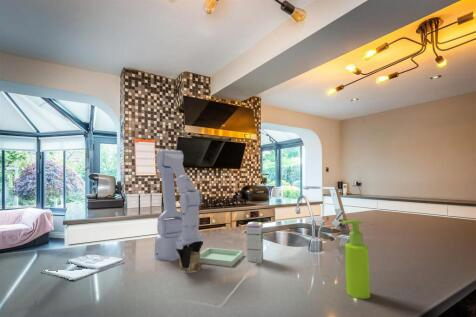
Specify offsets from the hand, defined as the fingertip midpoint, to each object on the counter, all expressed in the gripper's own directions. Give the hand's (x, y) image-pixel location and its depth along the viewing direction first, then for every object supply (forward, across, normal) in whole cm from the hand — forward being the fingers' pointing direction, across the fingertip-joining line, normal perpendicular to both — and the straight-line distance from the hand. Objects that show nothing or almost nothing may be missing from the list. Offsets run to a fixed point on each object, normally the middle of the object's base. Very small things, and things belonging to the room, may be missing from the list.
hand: (189, 264), depth 88 cm
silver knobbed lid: (+2, 0, 0) cm, 2 cm away
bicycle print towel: (+2, -10, +38) cm, 39 cm away
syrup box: (+2, +17, -19) cm, 26 cm away
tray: (+2, +13, -6) cm, 14 cm away
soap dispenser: (+2, -1, -53) cm, 53 cm away
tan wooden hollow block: (+1, 0, 0) cm, 1 cm away
